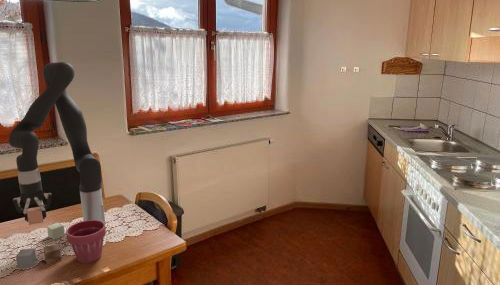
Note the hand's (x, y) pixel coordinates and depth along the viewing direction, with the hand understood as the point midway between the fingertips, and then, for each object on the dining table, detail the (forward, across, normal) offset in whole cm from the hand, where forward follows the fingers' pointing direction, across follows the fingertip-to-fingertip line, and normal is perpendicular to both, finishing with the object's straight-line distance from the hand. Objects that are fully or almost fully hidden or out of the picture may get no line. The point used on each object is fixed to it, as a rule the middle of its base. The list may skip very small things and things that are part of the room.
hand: (36, 219), depth 159 cm
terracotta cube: (+1, 0, 0) cm, 1 cm away
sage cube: (+13, -6, -10) cm, 18 cm away
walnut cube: (+13, -5, +11) cm, 18 cm away
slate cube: (+13, +4, +10) cm, 17 cm away
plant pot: (+14, -18, +15) cm, 27 cm away
